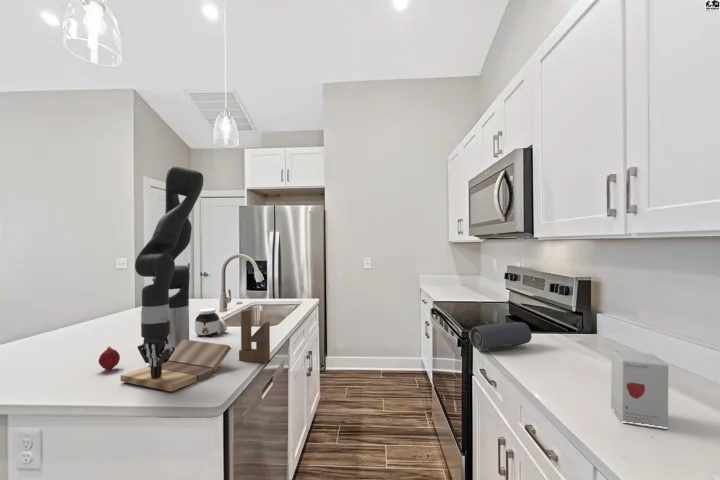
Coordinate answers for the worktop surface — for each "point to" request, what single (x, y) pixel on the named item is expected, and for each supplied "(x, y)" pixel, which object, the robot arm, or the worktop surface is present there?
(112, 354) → the onion
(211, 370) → the mating board
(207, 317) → the spread jar
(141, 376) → the oak plank near
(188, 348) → the oak plank far
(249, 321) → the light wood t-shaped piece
